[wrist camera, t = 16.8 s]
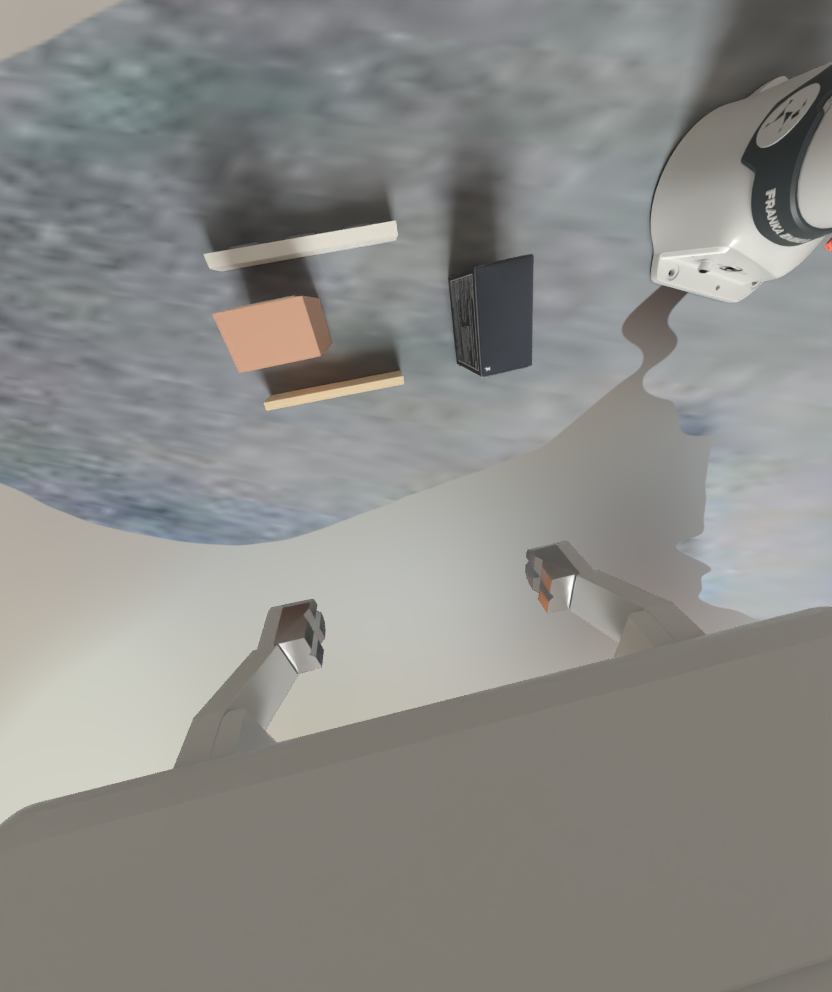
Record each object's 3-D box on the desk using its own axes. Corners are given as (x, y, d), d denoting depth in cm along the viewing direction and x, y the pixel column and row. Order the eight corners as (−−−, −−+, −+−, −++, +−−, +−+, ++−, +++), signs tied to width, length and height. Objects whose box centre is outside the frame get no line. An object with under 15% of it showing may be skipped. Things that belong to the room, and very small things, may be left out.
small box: (500, 355, 44) (535, 368, 35) (456, 365, 44) (479, 381, 35) (498, 264, 38) (538, 251, 29) (446, 275, 38) (471, 266, 29)
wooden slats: (392, 223, 35) (395, 214, 31) (415, 375, 44) (419, 381, 40) (214, 254, 34) (198, 249, 31) (274, 402, 43) (266, 410, 39)
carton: (332, 343, 40) (320, 356, 30) (271, 355, 40) (239, 373, 30) (318, 296, 37) (301, 293, 27) (253, 309, 37) (211, 311, 27)
